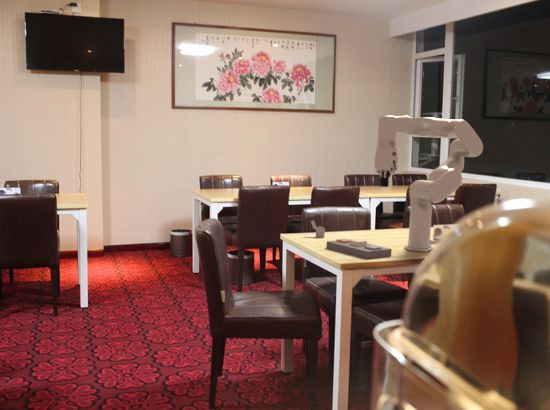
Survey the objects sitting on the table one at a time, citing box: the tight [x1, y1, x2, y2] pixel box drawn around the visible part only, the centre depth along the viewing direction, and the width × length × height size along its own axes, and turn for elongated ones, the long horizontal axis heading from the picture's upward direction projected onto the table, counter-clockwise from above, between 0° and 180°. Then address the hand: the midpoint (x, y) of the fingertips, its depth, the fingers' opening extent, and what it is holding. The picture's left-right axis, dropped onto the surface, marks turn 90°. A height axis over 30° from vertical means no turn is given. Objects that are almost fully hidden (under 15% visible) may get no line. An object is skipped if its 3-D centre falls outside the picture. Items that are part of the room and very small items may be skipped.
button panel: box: [326, 239, 392, 260], centre depth 258 cm, size 14×26×3 cm, turn 35°
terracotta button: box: [336, 238, 350, 243], centre depth 265 cm, size 5×5×3 cm
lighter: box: [310, 219, 326, 238], centre depth 294 cm, size 7×2×8 cm, turn 64°
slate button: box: [365, 244, 383, 250], centre depth 251 cm, size 5×5×3 cm
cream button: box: [350, 238, 368, 247], centre depth 258 cm, size 5×5×3 cm
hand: (384, 186), depth 259 cm, fingers closed
